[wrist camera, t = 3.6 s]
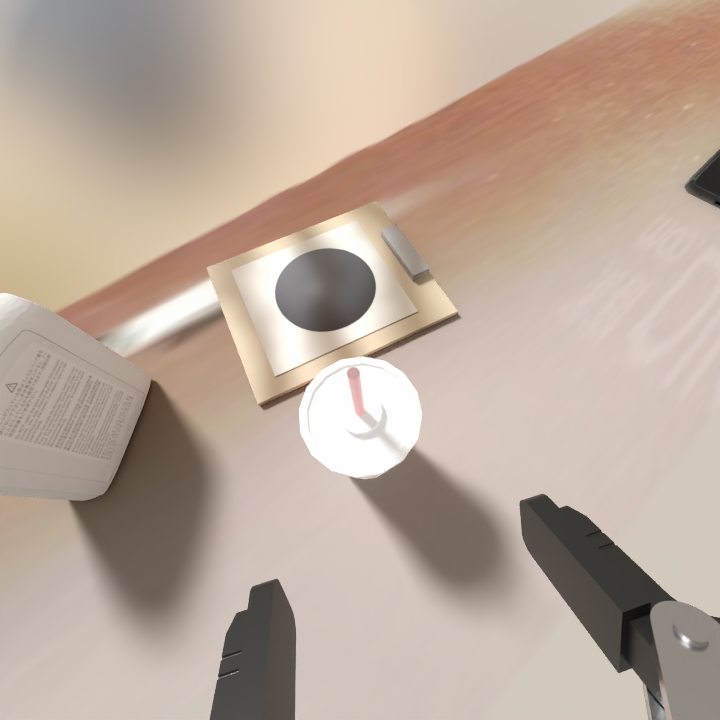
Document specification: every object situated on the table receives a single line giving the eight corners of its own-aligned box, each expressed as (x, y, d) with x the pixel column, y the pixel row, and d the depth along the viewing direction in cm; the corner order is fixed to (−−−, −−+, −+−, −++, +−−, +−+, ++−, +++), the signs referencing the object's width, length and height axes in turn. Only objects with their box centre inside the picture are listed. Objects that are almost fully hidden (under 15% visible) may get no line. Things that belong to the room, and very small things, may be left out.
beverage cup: (420, 426, 25) (462, 335, 13) (387, 506, 23) (398, 494, 11) (346, 393, 27) (319, 282, 14) (309, 467, 25) (235, 413, 12)
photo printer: (113, 366, 29) (-56, 270, 18) (161, 371, 28) (20, 275, 17) (55, 497, 24) (-217, 480, 13) (110, 504, 24) (-122, 493, 13)
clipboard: (259, 406, 27) (254, 400, 25) (208, 271, 33) (202, 261, 31) (456, 314, 29) (459, 305, 28) (376, 205, 35) (376, 194, 34)
